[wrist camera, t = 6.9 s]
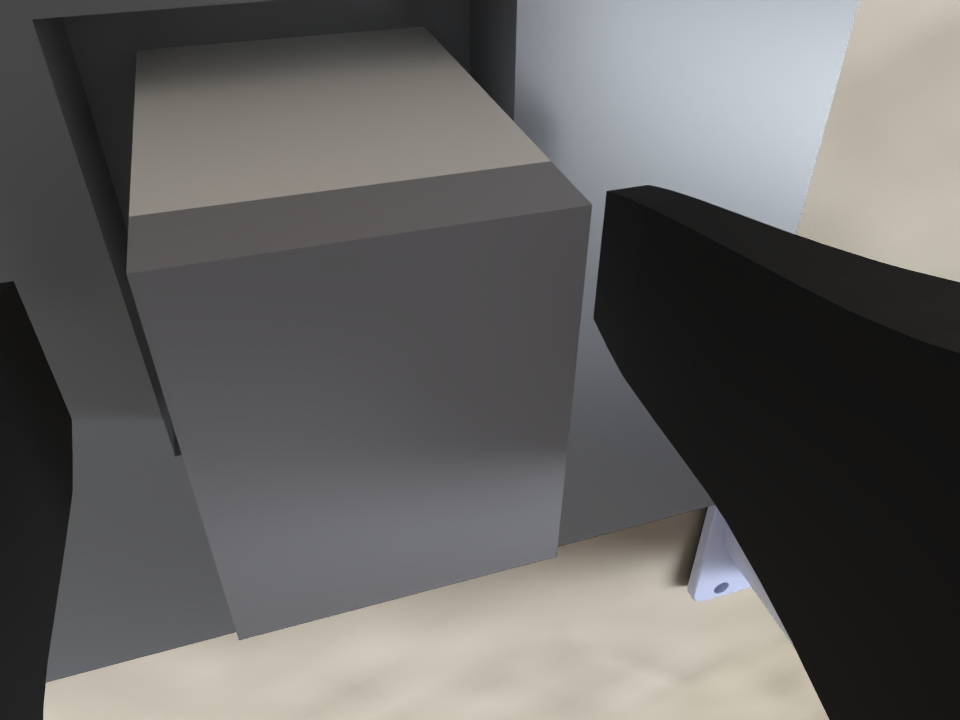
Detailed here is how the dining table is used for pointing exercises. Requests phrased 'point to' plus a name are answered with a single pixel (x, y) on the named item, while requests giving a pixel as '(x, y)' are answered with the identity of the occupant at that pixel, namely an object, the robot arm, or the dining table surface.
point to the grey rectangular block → (354, 315)
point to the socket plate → (521, 95)
